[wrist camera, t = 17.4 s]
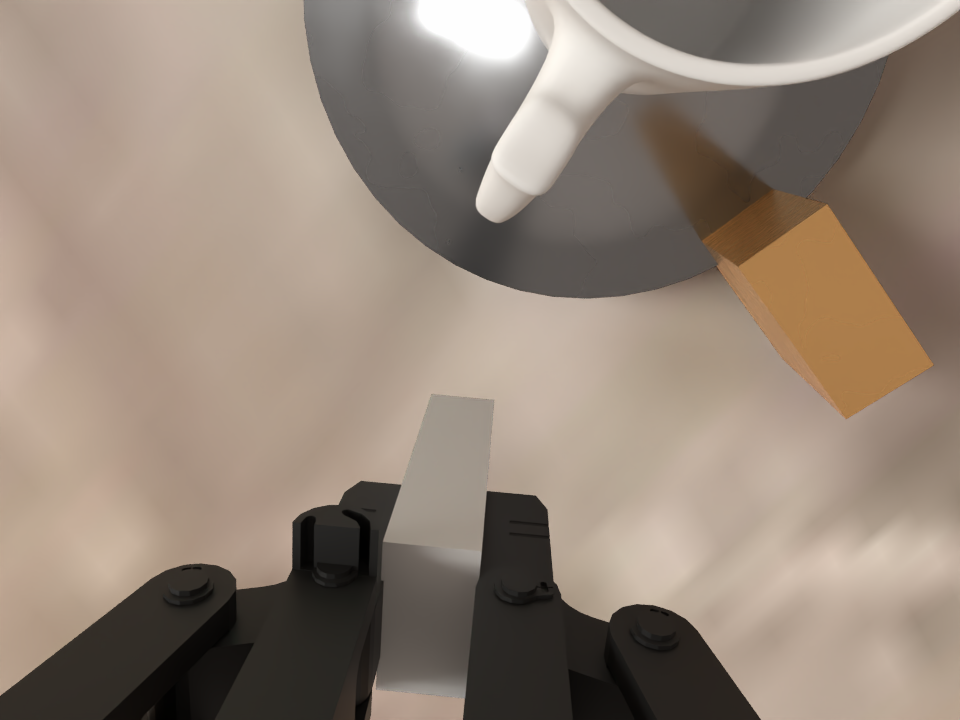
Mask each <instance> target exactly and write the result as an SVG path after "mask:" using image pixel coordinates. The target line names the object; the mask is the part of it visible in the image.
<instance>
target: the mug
mask: <svg viewBox="0 0 960 720" xmlns="http://www.w3.org/2000/svg"><path fill="white" fill-rule="evenodd" d="M525 3H526V6H527V9H528V12H529V15H530V17H531V20H532V23H533V25H534V27H535V29H536V32H537V33H538V35H539V37H540V39H541V41H542V42H543V44H544V45H545V47H546V48H547V50H548V51H549V52H548V54H547V57H546V60H545V62H544V64H543V66H542V68H541V70H540V72H539V74H538V76H537V78H536V80H535V82H534V84H533V85H532V87H531V89H530V91H529V93H528V94H527V96H526V98H525V100H524V101H523V103H522V105H521V106H520V108H519V110H518V111H517V113H516V115H515V116H514V118H513V119H512V121H511V122H510V124H509V125H508V127H507V129H506V130H505V132H504V133H503V135H502V137H501V138H500V140H499V141H498V143H497V145H496V147H495V149H494V151H493V153H492V156H491V161H490V163H489V165H488V167H487V170H486V172H485V175H484V177H483V180H482V182H481V185H480V188H479V191H478V194H477V197H476V207H477V210H478V212H479V213H480V214H481V215H482V216H484V217H485V218H487V219H488V220H490V221H492V222H495V223H502V222H504V221H506V220H508V219H510V218H512V217H513V216H515V215H516V214H517V213H519V212H520V211H521V210H522V209H523V208H524V207H526V206H527V205H528V204H529V203H530V202H531V201H532V200H533V199H534V198H535V197H536V196H540V195H542V194H545V193H546V192H547V191H548V190H549V189H550V188H551V187H552V186H553V184H554V183H555V181H556V180H557V178H558V177H559V175H560V174H561V172H562V171H563V169H564V168H565V166H566V165H567V163H568V162H569V160H570V158H571V157H572V155H573V153H574V151H575V149H576V148H577V146H578V144H579V143H580V141H581V140H582V138H583V137H584V135H585V134H586V132H587V131H588V130H589V128H590V127H591V126H592V124H593V123H594V122H595V120H596V119H597V118H598V117H599V116H600V114H601V113H602V112H603V111H604V110H605V108H606V107H607V106H608V105H609V104H610V103H611V102H612V101H613V100H614V99H615V98H616V97H617V96H618V95H619V94H620V93H622V94H635V95H657V94H667V93H683V92H702V91H721V90H737V89H748V88H759V87H767V86H780V85H790V84H797V83H803V82H808V81H813V80H818V79H822V78H826V77H830V76H834V75H837V74H841V73H844V72H847V71H850V70H853V69H856V68H858V67H861V66H864V65H866V64H869V63H871V62H873V61H876V60H878V59H880V58H882V57H885V56H887V55H889V54H891V53H893V52H895V51H897V50H899V49H901V48H903V47H905V46H906V45H908V44H910V43H912V42H914V41H915V40H917V39H919V38H920V37H922V36H924V35H925V34H927V33H928V32H930V31H932V30H933V29H934V28H936V27H937V26H939V25H940V24H942V23H943V22H945V21H946V20H947V19H949V18H950V17H952V16H953V15H954V14H956V13H957V12H958V11H959V10H960V0H525Z"/></svg>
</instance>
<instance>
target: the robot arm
mask: <svg viewBox="0 0 960 720" xmlns="http://www.w3.org/2000/svg"><path fill="white" fill-rule="evenodd" d="M493 408H494V400H489V399H478V398H467V397H457V396H446V395H435V394H431V397H430V401H429V404H428V407H427V410H426V413H425V416H424V419H423V422H422V425H421V428H420V431H419V434H418V437H417V440H416V443H415V446H414V449H413V452H412V455H411V458H410V461H409V464H408V467H407V470H406V473H405V476H404V479H403V482H402V485H398V484H387V483H376V482H366V481H360V482H359V483H357V484H356V485H354V486H353V487H352V488H350V489H349V490H347V491H346V492H345V493H344V495H343V497H342V499H341V501H340V503H339V505H327V506H322V507H317V508H313V509H311V510H309V511H306V512H304V513H302V514H300V515H299V516H298V517H297V518H296V519H295V520H294V521H293V547H292V571H291V573H290V575H289V577H288V579H287V581H285V582H282V583H279V584H276V585H271V586H265V587H258V588H249V589H240V590H236V579H235V577H234V576H233V575H232V574H231V572H230V571H228V570H226V569H224V568H221V567H219V566H216V565H208V564H189V565H183V566H179V567H176V568H173V569H169V570H166V571H164V572H162V573H161V574H159V575H157V576H155V577H154V578H152V579H150V580H149V581H148V582H147V583H145V584H144V585H143V586H141V587H140V588H139V589H138V590H136V591H135V592H134V593H132V594H131V595H130V596H129V597H127V598H126V599H125V600H123V601H122V602H121V603H120V604H118V605H117V606H116V607H114V608H113V609H112V610H110V611H109V612H108V613H107V614H105V615H104V616H103V617H101V618H100V619H99V620H98V621H96V622H95V623H94V624H92V625H91V626H90V627H89V628H87V629H86V630H85V631H83V632H82V633H81V634H80V635H78V636H77V637H76V638H74V639H73V640H72V641H71V642H69V643H68V644H67V645H65V646H64V647H63V648H61V649H60V650H59V651H58V652H56V653H55V654H54V655H52V656H51V657H50V658H49V659H47V660H46V661H45V662H43V663H42V664H41V665H40V666H38V667H37V668H36V669H34V670H33V671H32V672H31V673H29V674H28V675H27V676H25V677H24V678H23V679H22V680H20V681H19V682H18V683H16V684H15V685H14V686H12V687H11V688H10V689H9V690H7V691H6V692H5V693H3V694H2V695H1V696H0V720H370V716H371V701H372V687H373V683H374V679H375V675H376V671H377V679H376V690H386V691H396V692H406V693H416V694H426V695H436V696H445V697H455V698H465V704H464V715H463V720H761V719H760V718H759V716H758V715H757V714H756V712H755V711H754V709H753V708H752V707H751V705H750V704H749V702H748V701H747V700H746V698H745V697H744V695H743V694H742V693H741V691H740V690H739V688H738V687H737V686H736V684H735V683H734V681H733V680H732V679H731V677H730V676H729V674H728V673H727V672H726V670H725V669H724V667H723V666H722V665H721V663H720V662H719V660H718V659H717V658H716V656H715V655H714V653H713V652H712V651H711V649H710V648H709V646H708V645H707V644H706V642H705V641H704V639H703V638H702V637H701V635H700V634H699V632H698V631H697V630H696V629H695V628H694V627H693V626H692V625H691V624H690V623H689V622H688V621H687V620H686V619H685V618H683V617H681V616H679V615H677V614H676V613H674V612H672V611H670V610H667V609H664V608H660V607H657V606H654V605H640V604H636V605H631V606H626V607H622V608H621V609H619V610H618V611H616V612H615V613H613V614H612V617H611V619H610V622H609V623H608V622H605V621H602V620H599V619H596V618H593V617H590V616H588V615H585V614H583V613H580V612H579V611H577V610H575V609H574V608H572V607H570V606H569V605H568V604H567V603H565V602H564V601H563V600H562V599H561V594H560V591H559V589H558V586H557V584H555V583H554V582H553V570H552V558H551V547H550V539H549V537H550V535H549V527H548V525H549V523H548V512H547V509H546V507H545V506H544V505H543V504H542V503H541V501H540V500H539V499H538V498H537V497H536V496H533V495H523V494H512V493H501V492H491V491H487V481H488V469H489V457H490V445H491V433H492V421H493Z"/></svg>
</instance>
